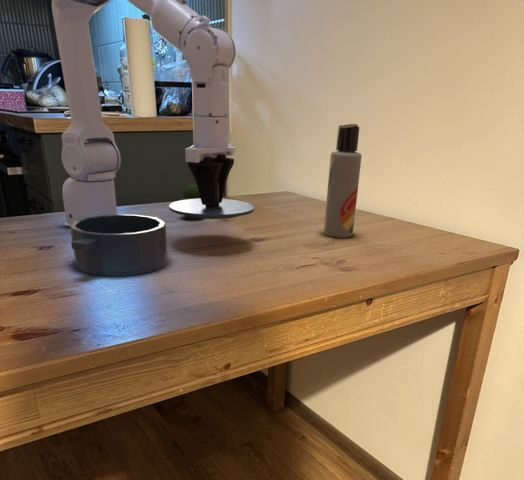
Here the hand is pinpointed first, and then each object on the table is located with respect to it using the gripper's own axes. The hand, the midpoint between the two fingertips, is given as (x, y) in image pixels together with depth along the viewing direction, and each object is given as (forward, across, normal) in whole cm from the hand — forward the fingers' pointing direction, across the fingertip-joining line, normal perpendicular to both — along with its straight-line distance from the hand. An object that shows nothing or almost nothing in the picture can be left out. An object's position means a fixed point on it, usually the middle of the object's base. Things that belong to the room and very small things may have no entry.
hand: (211, 203), depth 85 cm
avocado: (+7, +18, +13) cm, 23 cm away
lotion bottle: (+7, +18, -19) cm, 27 cm away
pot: (+7, -16, +8) cm, 19 cm away
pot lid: (+1, 0, 0) cm, 1 cm away
